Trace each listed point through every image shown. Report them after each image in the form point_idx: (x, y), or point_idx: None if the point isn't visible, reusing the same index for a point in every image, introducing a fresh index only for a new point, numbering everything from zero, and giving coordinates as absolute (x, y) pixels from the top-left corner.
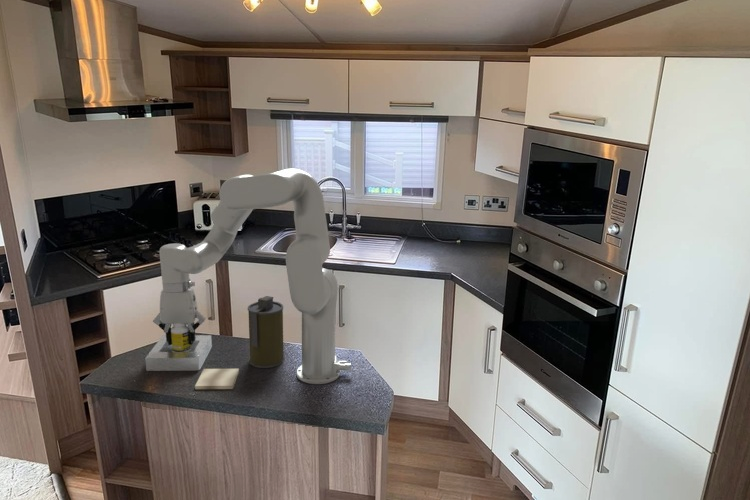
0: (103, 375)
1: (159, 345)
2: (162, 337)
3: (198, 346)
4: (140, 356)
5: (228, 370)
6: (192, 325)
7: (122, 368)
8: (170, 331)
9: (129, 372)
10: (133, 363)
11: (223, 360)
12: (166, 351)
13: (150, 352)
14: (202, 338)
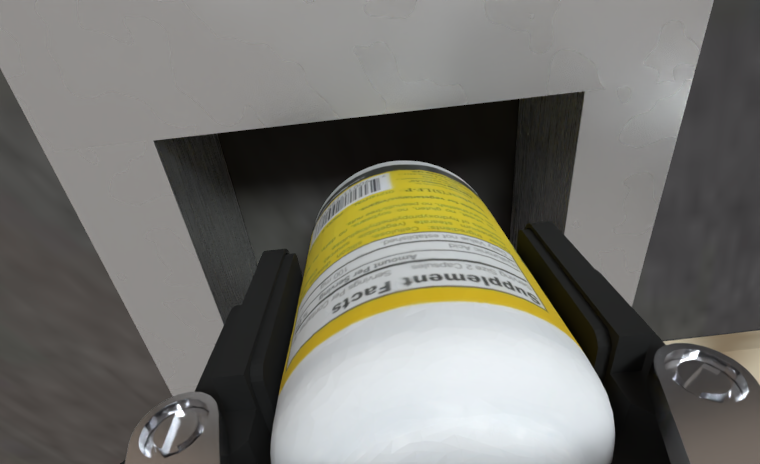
0: (29, 436)
1: (158, 271)
2: (3, 31)
3: (582, 247)
4: (19, 202)
5: (744, 365)
6: (709, 445)
7: (60, 368)
8: (269, 437)
9: (146, 398)
10: (71, 307)
11: (717, 198)
12: (210, 150)
13: (179, 393)
14: (613, 10)
